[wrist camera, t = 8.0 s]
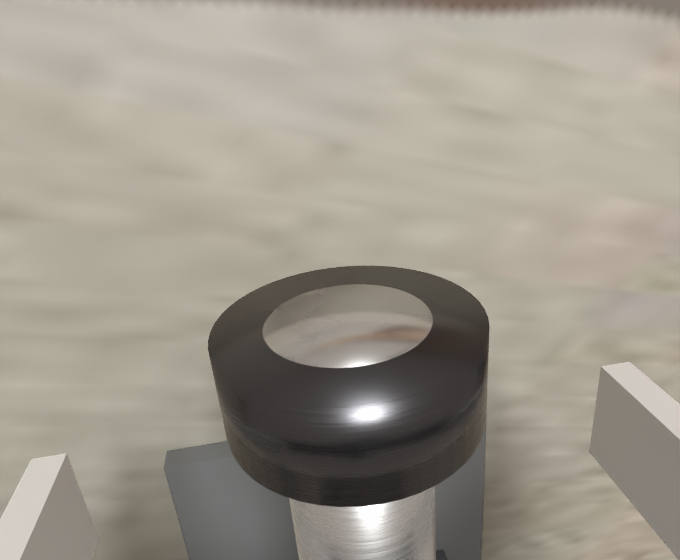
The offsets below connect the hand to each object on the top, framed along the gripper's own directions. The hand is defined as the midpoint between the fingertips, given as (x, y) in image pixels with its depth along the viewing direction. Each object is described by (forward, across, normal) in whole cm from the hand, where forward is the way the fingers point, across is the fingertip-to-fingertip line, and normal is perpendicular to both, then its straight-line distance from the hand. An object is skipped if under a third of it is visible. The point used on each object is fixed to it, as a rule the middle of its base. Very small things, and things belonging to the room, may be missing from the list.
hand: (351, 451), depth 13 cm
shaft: (+1, 0, -8) cm, 8 cm away
